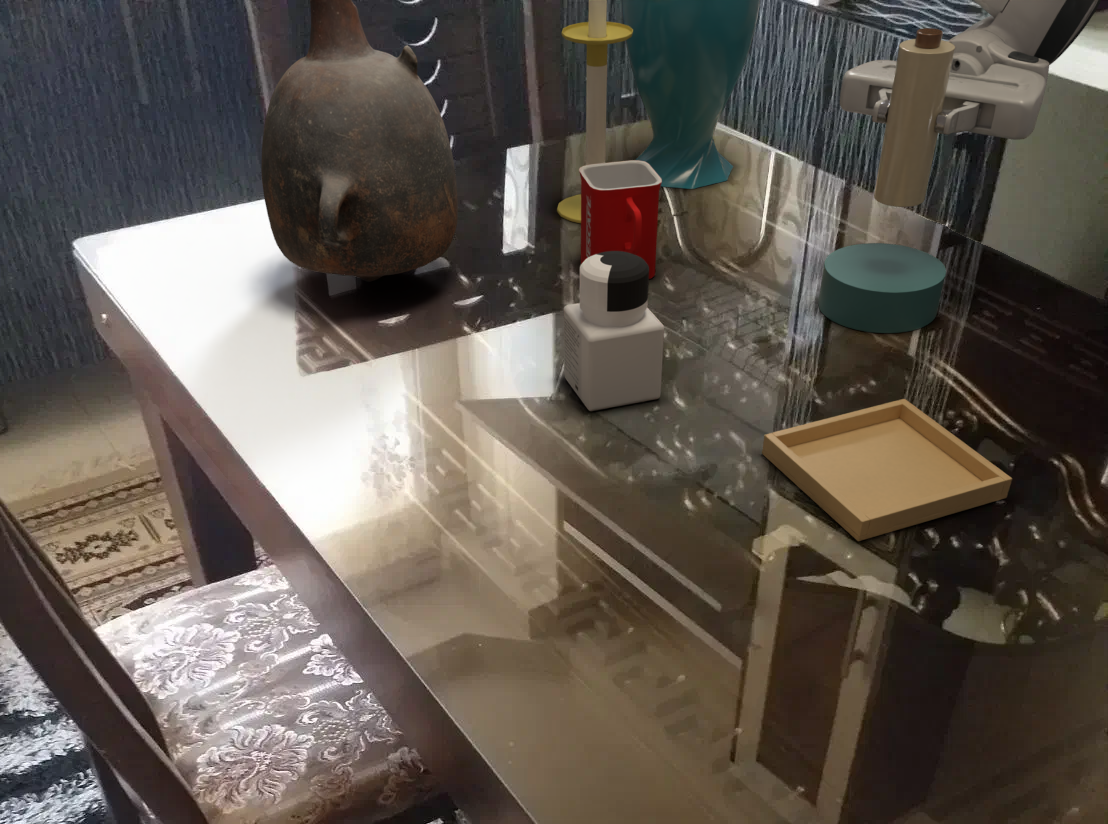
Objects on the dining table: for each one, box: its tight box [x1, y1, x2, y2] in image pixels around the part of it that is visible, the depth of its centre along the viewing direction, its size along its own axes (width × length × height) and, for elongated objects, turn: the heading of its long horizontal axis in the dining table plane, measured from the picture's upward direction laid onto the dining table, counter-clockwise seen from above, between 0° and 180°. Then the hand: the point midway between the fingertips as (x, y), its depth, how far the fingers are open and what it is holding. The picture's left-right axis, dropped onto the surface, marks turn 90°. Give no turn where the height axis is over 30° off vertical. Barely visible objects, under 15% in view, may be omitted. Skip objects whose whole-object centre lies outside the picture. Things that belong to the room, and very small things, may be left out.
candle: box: [556, 0, 633, 224], centre depth 137 cm, size 10×10×38 cm
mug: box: [578, 159, 662, 280], centre depth 132 cm, size 12×8×11 cm
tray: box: [761, 398, 1013, 542], centre depth 103 cm, size 16×16×2 cm
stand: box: [817, 242, 947, 334], centre depth 127 cm, size 13×13×4 cm
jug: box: [260, 0, 459, 283], centre depth 125 cm, size 24×21×30 cm
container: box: [563, 251, 665, 412], centre depth 112 cm, size 8×8×13 cm
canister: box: [873, 27, 955, 208], centre depth 115 cm, size 5×5×15 cm
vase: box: [621, 0, 761, 190], centre depth 149 cm, size 17×17×30 cm
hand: (911, 119), depth 114 cm, fingers closed on canister, 5 cm apart
